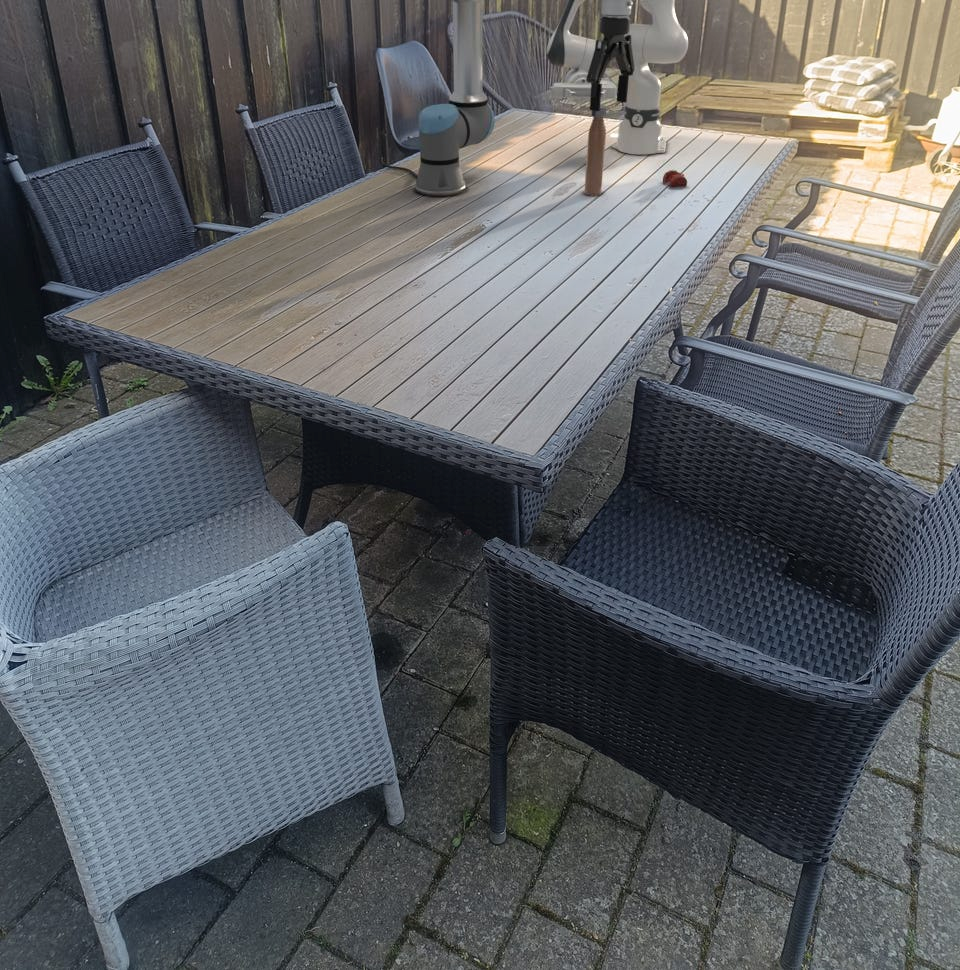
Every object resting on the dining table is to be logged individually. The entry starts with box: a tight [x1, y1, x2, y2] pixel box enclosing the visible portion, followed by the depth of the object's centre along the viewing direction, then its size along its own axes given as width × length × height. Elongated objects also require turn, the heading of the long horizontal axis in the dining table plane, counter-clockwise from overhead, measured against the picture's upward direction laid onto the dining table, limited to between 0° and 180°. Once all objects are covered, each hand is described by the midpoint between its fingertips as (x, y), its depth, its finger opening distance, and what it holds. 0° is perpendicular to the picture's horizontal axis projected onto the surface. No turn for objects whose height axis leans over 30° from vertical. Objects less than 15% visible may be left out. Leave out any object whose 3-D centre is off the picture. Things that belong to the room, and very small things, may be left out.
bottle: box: [583, 116, 607, 197], centre depth 249 cm, size 5×5×24 cm
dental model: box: [662, 169, 688, 188], centre depth 261 cm, size 6×4×8 cm
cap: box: [591, 104, 607, 118], centre depth 242 cm, size 4×4×2 cm
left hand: (608, 106), depth 226 cm, fingers open, 13 cm apart
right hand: (587, 95), depth 260 cm, fingers open, 8 cm apart
